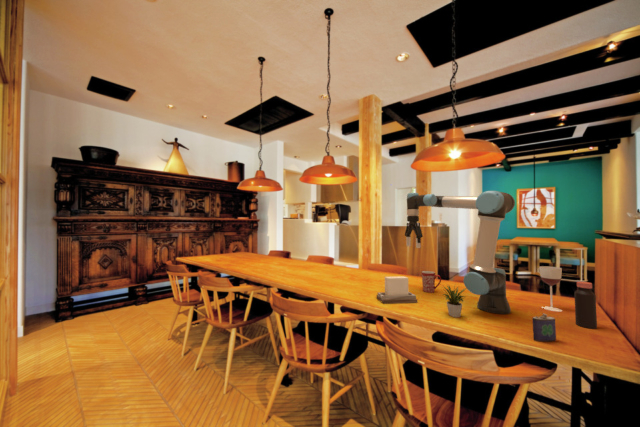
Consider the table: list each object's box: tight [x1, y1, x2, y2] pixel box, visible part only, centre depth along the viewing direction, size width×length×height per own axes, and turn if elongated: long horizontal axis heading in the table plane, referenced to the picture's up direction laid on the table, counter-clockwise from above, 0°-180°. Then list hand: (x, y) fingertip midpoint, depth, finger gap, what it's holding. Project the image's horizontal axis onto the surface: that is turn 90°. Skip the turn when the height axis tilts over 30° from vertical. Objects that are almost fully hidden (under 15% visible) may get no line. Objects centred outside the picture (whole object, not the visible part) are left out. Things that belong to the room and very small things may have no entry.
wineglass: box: [538, 265, 563, 313], centre depth 139 cm, size 9×10×23 cm
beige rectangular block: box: [384, 276, 409, 296], centre depth 153 cm, size 13×5×12 cm, turn 96°
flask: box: [531, 312, 557, 343], centre depth 100 cm, size 9×3×11 cm, turn 95°
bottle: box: [573, 281, 598, 330], centre depth 115 cm, size 7×7×20 cm
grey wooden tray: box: [376, 291, 418, 305], centre depth 152 cm, size 12×21×4 cm, turn 96°
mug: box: [421, 270, 442, 294], centre depth 173 cm, size 13×9×14 cm
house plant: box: [439, 283, 468, 318], centre depth 128 cm, size 14×14×16 cm
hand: (413, 247), depth 167 cm, fingers open, 13 cm apart
